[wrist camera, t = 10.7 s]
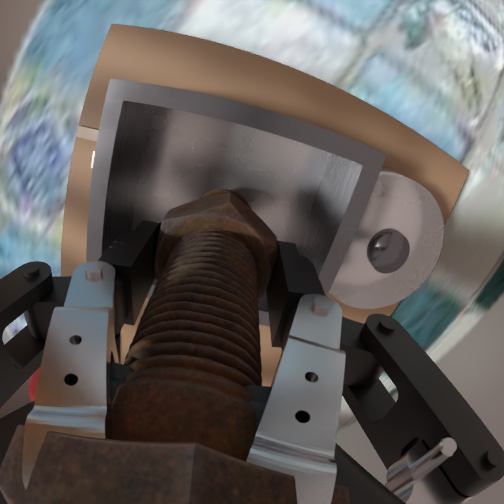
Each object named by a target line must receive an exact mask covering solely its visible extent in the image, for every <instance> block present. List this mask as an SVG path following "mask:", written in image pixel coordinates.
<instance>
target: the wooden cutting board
mask: <svg viewBox="0 0 504 504" xmlns="http://www.w3.org/2000/svg"><path fill="white" fill-rule="evenodd" d="M110 79H118V80H127V81H135V82H142V83H149V84H156V85H162V86H168V87H174V88H179V89H184V90H190V91H194V92H199V93H204V94H208V95H213V96H217V97H221V98H226V99H230V100H234V101H238V102H241V103H245V104H249V105H252V106H256V107H260V108H263V109H266V110H270V111H273V112H276V113H280V114H283V115H286V116H289V117H292V118H295V119H298V120H301V121H304V122H307V123H310V124H313V125H316V126H318V127H321V128H324V129H327V130H329V131H332V132H335V133H337V134H340V135H342V136H345V137H347V138H350V139H352V140H355V141H357V142H360V143H362V144H364V145H367V146H369V147H371V148H374V149H376V150H378V151H380V152H383V153H385V154H386V157H385V160H384V163H383V165H382V167H385V168H388V169H391V170H393V171H395V172H397V173H399V174H401V175H403V176H405V177H407V178H409V179H411V180H413V181H415V182H417V183H419V184H421V185H422V186H423V187H425V188H426V189H427V190H428V191H429V192H430V193H431V194H432V195H433V197H434V198H435V200H436V201H437V203H438V205H439V208H440V210H441V213H442V217H443V223H444V224H445V222H446V220H447V218H448V216H449V214H450V212H451V210H452V208H453V206H454V204H455V202H456V200H457V197H458V195H459V193H460V191H461V189H462V186H463V184H464V182H465V179H466V177H467V175H468V172H469V170H468V169H467V168H465V167H464V166H463V165H461V164H460V163H459V162H458V161H456V160H455V159H454V158H452V157H451V156H450V155H448V154H447V153H446V152H444V151H443V150H441V149H440V148H439V147H437V146H436V145H434V144H433V143H432V142H430V141H429V140H427V139H426V138H424V137H423V136H421V135H420V134H418V133H417V132H415V131H414V130H412V129H410V128H409V127H407V126H406V125H404V124H402V123H401V122H399V121H398V120H396V119H394V118H393V117H391V116H389V115H388V114H386V113H384V112H382V111H381V110H379V109H377V108H375V107H373V106H372V105H370V104H368V103H366V102H364V101H362V100H361V99H359V98H357V97H355V96H353V95H351V94H349V93H347V92H345V91H343V90H341V89H339V88H337V87H335V86H333V85H330V84H328V83H326V82H324V81H322V80H319V79H317V78H315V77H313V76H310V75H308V74H306V73H303V72H301V71H298V70H296V69H294V68H291V67H288V66H286V65H283V64H281V63H278V62H275V61H273V60H270V59H267V58H264V57H261V56H258V55H255V54H252V53H249V52H246V51H243V50H240V49H237V48H233V47H230V46H226V45H223V44H219V43H216V42H212V41H208V40H204V39H200V38H196V37H191V36H187V35H182V34H178V33H173V32H167V31H162V30H156V29H150V28H144V27H137V26H129V25H120V24H111V27H110V29H109V32H108V34H107V37H106V39H105V42H104V44H103V47H102V49H101V52H100V55H99V58H98V61H97V63H96V66H95V69H94V72H93V75H92V79H91V82H90V85H89V88H88V92H87V95H86V99H85V102H84V106H83V110H82V114H81V118H80V122H79V126H78V130H77V134H76V140H75V145H74V150H73V155H72V160H71V166H70V172H69V179H68V185H67V193H66V201H65V210H64V221H63V233H62V251H61V277H65V276H72V275H73V272H74V270H75V269H76V268H77V267H78V266H79V265H81V264H83V263H86V245H87V223H88V209H89V197H90V187H91V178H92V170H93V168H91V162H92V155H93V151H95V149H96V143H97V137H98V132H99V126H100V121H101V116H102V111H103V107H104V102H105V98H106V94H107V90H108V86H109V82H110ZM327 297H329V298H331V299H332V300H334V301H335V302H337V303H338V304H339V306H340V307H341V309H342V316H343V317H345V318H348V319H350V320H354V321H357V322H360V323H363V324H364V323H365V321H366V319H367V317H368V316H369V315H371V314H377V313H378V314H384V315H387V316H391V314H392V313H393V311H394V310H395V308H396V307H397V305H398V304H399V302H400V301H401V300H400V301H398V302H396V303H394V304H391V305H389V306H385V307H381V308H375V309H361V308H355V307H352V306H348V305H346V304H344V303H342V302H340V301H339V300H337V299H336V298H335V297H334V296H332V295H331V294H330V293H329V292H328V294H327ZM149 299H150V298H146V299H145V302H144V304H143V306H142V309H141V311H140V313H139V316H138V318H137V320H136V323H135V325H134V326H133V325H128V324H124V325H123V327H122V329H121V335H122V363H124V362H125V357H126V355H127V353H128V351H129V347H130V344H131V343H132V340H133V338H134V336H135V333H136V330H137V327H138V324H139V323H140V319H141V317H142V315H143V313H144V309H145V307H146V306H147V304H148V301H149ZM259 329H260V345H261V352H260V355H261V365H262V372H261V376H262V381H263V382H262V386H268V387H270V385H271V382H272V379H273V376H274V373H275V370H276V367H277V365H278V362H279V359H280V356H281V353H282V349H281V348H279V347H272V345H271V334H270V327H269V326H264V325H259Z"/></svg>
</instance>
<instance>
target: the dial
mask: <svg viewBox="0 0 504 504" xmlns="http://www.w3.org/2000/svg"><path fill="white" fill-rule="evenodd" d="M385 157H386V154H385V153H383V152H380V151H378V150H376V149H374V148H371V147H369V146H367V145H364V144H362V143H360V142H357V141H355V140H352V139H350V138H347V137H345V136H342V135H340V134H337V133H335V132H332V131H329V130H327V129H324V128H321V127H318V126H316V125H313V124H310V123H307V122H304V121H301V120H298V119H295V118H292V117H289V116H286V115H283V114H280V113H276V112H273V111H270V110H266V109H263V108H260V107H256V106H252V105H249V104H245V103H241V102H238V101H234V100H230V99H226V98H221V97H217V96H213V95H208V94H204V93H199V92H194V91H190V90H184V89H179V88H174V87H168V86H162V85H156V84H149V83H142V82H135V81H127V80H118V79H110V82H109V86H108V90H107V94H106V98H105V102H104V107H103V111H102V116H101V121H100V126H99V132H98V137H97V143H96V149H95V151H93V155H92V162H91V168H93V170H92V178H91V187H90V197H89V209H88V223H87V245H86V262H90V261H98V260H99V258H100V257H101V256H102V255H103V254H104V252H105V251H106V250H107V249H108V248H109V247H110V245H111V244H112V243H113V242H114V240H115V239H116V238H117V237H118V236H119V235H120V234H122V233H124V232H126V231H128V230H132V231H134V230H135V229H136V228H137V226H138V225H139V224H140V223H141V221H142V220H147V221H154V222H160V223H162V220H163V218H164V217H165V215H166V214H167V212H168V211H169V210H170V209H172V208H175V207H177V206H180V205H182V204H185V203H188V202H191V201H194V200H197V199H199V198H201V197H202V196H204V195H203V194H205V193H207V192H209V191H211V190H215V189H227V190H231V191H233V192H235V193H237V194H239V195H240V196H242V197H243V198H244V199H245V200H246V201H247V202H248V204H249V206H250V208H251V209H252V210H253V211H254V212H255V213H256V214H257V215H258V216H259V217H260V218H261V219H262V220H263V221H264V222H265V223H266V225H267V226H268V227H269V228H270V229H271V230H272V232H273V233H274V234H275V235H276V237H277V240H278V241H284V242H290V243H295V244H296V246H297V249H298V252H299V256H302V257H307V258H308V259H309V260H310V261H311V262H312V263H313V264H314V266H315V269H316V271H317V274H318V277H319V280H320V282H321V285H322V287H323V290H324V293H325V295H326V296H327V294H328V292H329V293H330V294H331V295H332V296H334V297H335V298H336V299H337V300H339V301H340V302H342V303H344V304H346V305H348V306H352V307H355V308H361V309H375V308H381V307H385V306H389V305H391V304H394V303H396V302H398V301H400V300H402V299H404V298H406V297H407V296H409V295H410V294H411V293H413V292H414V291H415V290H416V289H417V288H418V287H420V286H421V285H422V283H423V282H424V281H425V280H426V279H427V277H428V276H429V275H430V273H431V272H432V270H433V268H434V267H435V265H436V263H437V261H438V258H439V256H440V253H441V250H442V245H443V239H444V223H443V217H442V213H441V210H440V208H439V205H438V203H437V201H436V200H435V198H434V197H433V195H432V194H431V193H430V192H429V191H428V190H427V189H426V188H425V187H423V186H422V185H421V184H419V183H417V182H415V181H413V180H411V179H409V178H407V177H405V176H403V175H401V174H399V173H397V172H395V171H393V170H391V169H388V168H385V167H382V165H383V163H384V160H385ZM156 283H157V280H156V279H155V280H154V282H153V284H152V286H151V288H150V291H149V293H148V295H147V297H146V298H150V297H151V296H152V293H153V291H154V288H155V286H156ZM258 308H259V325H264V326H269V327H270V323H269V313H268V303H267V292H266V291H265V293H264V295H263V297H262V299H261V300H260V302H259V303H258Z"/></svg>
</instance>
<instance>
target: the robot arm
mask: <svg viewBox="0 0 504 504" xmlns="http://www.w3.org/2000/svg"><path fill="white" fill-rule="evenodd" d="M160 228H161V223H160V222H154V221H147V220H142V221H141V223H140V224H139V225H138V226H137V228H136V229H135V230H134V231H132V230H128V231H126V232H124V233H122V234H120V235H119V236H118V237H117V238H116V239H115V240H114V242H113V243H112V244H111V245H110V247H109V248H108V249H107V250H106V251H105V252H104V254H103V255H102V256H101V257H100V258H99V260H98V261H90V262H86V263H83V264H81V265H79V266H78V267H77V268H76V269H75V270H74V272H73V275H72V276H65V277H52V272H51V268H50V266H49V265H48V264H47V263H44V262H39V261H37V262H29V263H26V264H24V265H22V266H20V267H18V268H17V269H15V270H14V271H12V272H11V273H9V274H8V275H6V276H5V277H3V278H2V279H0V408H1V407H2V406H3V405H4V404H5V403H6V401H7V400H8V399H9V398H10V397H11V396H12V395H13V394H14V393H15V392H16V391H17V390H18V389H19V388H20V387H21V386H22V384H24V382H25V381H26V380H27V379H28V378H29V377H30V376H31V375H32V374H33V373H34V372H35V371H36V370H37V369H38V368H39V367H40V372H39V377H38V383H37V390H36V397H35V400H34V401H32V402H30V403H28V404H27V405H25V406H23V407H21V408H19V409H17V410H16V411H14V412H12V413H10V414H8V415H6V416H5V417H3V418H1V419H0V468H1V465H2V463H3V460H4V457H5V455H6V452H7V450H8V447H9V445H10V442H11V440H12V438H13V435H14V433H15V431H16V428H17V426H18V425H19V424H22V425H25V430H24V441H23V459H22V478H23V483H24V487H25V489H27V486H28V483H29V480H30V477H31V474H32V471H33V468H34V465H35V462H36V460H37V457H38V454H39V452H40V449H41V446H42V444H43V441H44V439H45V436H46V434H47V432H48V431H54V432H60V433H65V434H71V435H78V436H85V437H93V438H102V439H112V407H111V405H112V402H113V399H114V396H115V393H116V390H117V388H118V387H119V386H121V385H122V384H124V383H125V380H123V379H124V377H125V376H127V375H129V374H131V373H133V372H132V371H131V370H130V369H129V366H128V365H123V364H122V335H121V329H122V327H123V325H124V324H128V325H133V326H134V325H135V323H136V320H137V318H138V316H139V313H140V311H141V309H142V306H143V304H144V302H145V299H146V297H147V295H148V293H149V291H150V288H151V286H152V284H153V282H154V280H155V273H154V262H155V253H156V247H157V241H158V236H159V232H160ZM277 244H278V253H277V258H276V262H275V266H274V269H273V272H272V275H271V278H270V281H269V284H268V286H267V288H266V292H267V303H268V313H269V323H270V334H271V345H272V347H279V348H281V349H282V353H281V356H280V359H279V362H278V365H277V367H276V370H275V373H274V376H273V379H272V382H271V385H270V387H268V386H256V385H247V386H244V388H245V389H247V390H248V391H249V392H251V393H252V394H253V400H251V401H250V404H251V405H252V406H253V407H254V408H255V410H256V433H255V435H254V438H253V441H252V443H251V446H250V449H249V451H248V454H247V456H246V459H245V461H246V462H249V463H252V464H255V465H258V466H261V467H265V468H268V469H271V470H275V471H278V472H282V473H285V474H289V475H292V476H294V477H295V485H296V494H297V504H331V501H332V496H333V491H334V486H335V485H339V486H345V487H348V492H349V498H350V503H351V504H462V503H464V502H466V501H467V500H469V499H471V498H472V497H474V496H476V495H477V494H479V493H480V492H482V491H483V490H485V489H486V488H488V487H489V486H491V485H493V484H494V483H495V482H497V481H498V480H500V479H501V478H502V477H503V475H504V451H503V449H502V448H501V446H500V445H499V443H498V442H497V441H496V439H495V438H494V437H493V435H492V434H491V433H490V431H489V430H488V429H487V427H486V426H485V425H484V423H483V422H482V421H481V419H480V418H479V417H478V416H477V414H476V413H475V412H474V410H473V409H472V408H471V407H470V406H469V404H468V403H467V402H466V400H465V399H464V398H463V397H462V395H461V394H460V393H459V392H458V391H457V389H456V388H455V387H454V386H453V384H452V383H451V382H450V381H449V380H448V378H447V377H446V376H445V375H444V374H443V373H442V371H441V370H440V369H439V368H438V366H437V365H436V364H435V363H434V362H433V361H432V359H431V358H430V357H429V356H428V355H427V354H426V352H425V351H424V350H423V349H422V348H421V347H420V346H419V344H418V343H417V342H416V341H415V340H414V339H413V338H412V337H411V335H410V334H409V333H408V332H407V331H406V330H405V329H404V328H403V326H402V325H401V324H400V323H399V322H398V321H396V320H395V319H393V318H392V317H390V316H387V315H384V314H378V313H377V314H371V315H369V316H368V317H367V319H366V321H365V323H364V324H363V323H360V322H357V321H354V320H350V319H348V318H345V317H343V316H342V309H341V307H340V306H339V304H338V303H337V302H335V301H334V300H332V299H331V298H329V297H327V296H326V295H325V293H324V290H323V287H322V285H321V282H320V280H319V277H318V274H317V271H316V269H315V266H314V264H313V263H312V262H311V261H310V260H309V259H308V258H307V257H302V256H299V252H298V249H297V246H296V244H295V243H290V242H284V241H278V240H277ZM23 313H24V316H25V319H26V322H27V326H26V327H25V328H23V329H22V330H21V331H20V332H19V333H18V334H16V335H15V336H14V337H13V338H12V339H11V340H10V341H8V342H7V343H6V344H5V345H4V343H3V341H2V334H3V331H4V329H5V328H6V327H7V326H8V325H9V324H10V323H11V322H13V321H14V320H15V319H16V318H18V317H19V316H20V315H21V314H23ZM383 371H385V372H386V373H387V375H388V376H389V377H390V379H391V380H392V382H393V383H394V384H395V386H396V387H397V390H398V400H397V402H395V401H394V399H393V398H392V397H391V395H390V394H389V392H388V391H387V389H386V388H385V387H384V385H383V384H382V382H381V381H380V380H379V377H380V376H381V374H382V373H383ZM342 395H343V397H344V399H345V400H346V402H347V404H348V405H349V407H350V409H351V410H352V412H353V414H354V415H355V417H356V419H357V420H358V422H359V424H360V425H361V427H362V428H363V430H364V432H365V434H366V435H367V437H368V439H369V440H370V442H371V443H372V445H373V447H374V449H375V450H376V452H377V454H378V455H379V457H380V458H381V460H382V462H383V463H384V465H385V467H386V468H387V470H388V472H387V477H386V478H387V483H386V484H385V486H384V485H383V484H382V483H380V482H379V481H378V480H377V479H376V478H374V477H373V476H372V475H371V474H370V473H369V472H367V471H366V470H365V469H364V468H363V467H362V466H360V464H358V463H357V462H356V461H355V460H354V459H353V458H352V457H351V456H350V455H348V454H347V453H346V452H345V451H344V450H343V449H342V448H341V447H340V446H339V445H337V444H336V438H337V432H338V425H339V417H340V409H341V401H342ZM0 504H8V503H7V502H6V500H5V498H4V496H3V494H2V492H1V490H0Z"/></svg>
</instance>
